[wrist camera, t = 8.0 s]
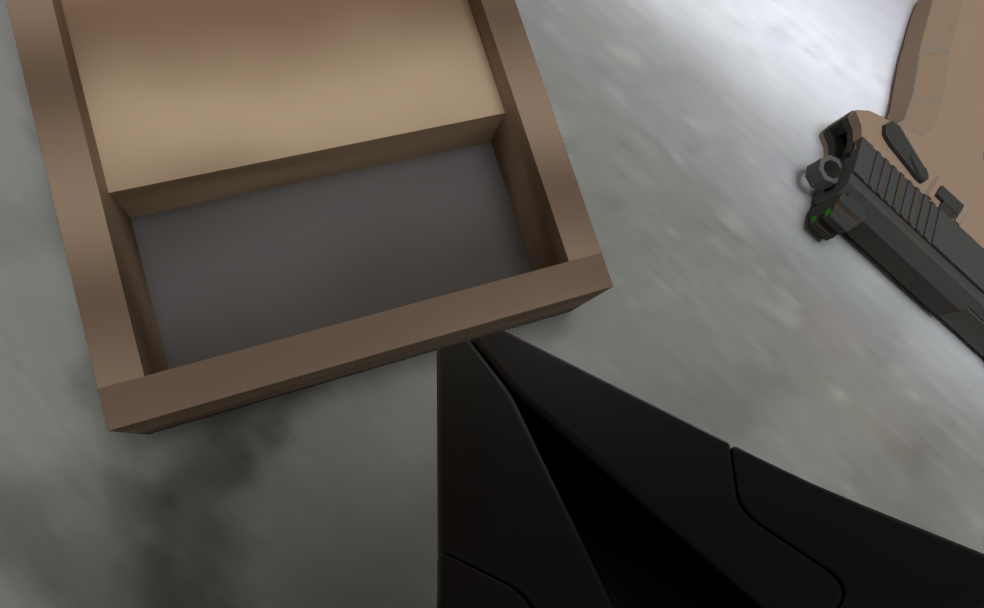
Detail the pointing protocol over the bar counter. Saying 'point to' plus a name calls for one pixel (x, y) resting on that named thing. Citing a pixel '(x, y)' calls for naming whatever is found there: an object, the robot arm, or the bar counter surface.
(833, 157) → the handgun
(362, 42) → the tray box
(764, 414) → the bar counter surface
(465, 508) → the robot arm
